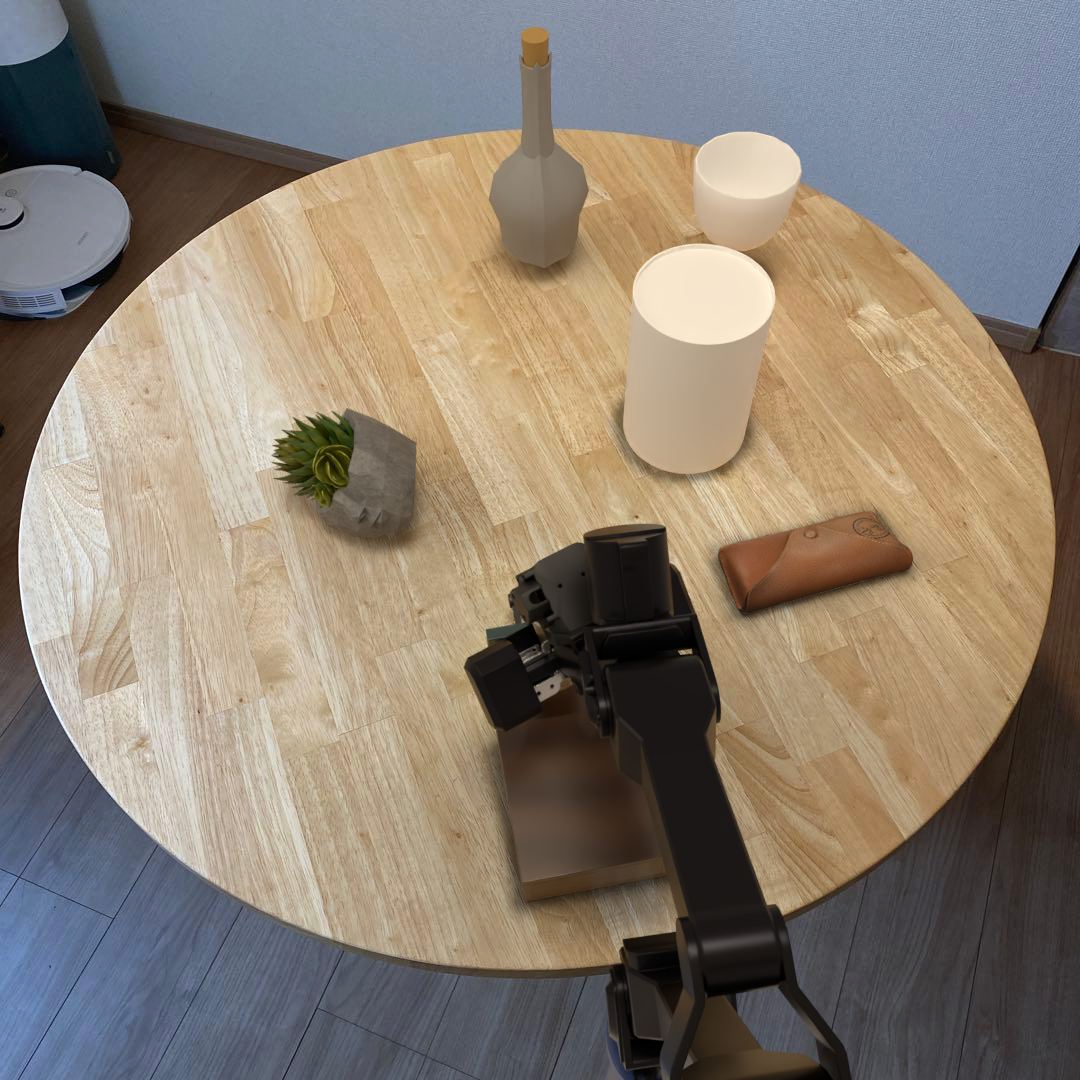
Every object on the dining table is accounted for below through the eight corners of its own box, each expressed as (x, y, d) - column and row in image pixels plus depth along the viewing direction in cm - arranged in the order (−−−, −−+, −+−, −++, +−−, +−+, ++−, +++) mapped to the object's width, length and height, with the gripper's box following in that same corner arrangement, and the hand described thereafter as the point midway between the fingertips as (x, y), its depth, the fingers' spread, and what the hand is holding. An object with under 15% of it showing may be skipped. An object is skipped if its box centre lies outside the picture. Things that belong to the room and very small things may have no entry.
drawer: (482, 613, 103) (479, 591, 100) (595, 594, 104) (596, 572, 101) (509, 772, 94) (507, 754, 91) (632, 749, 95) (635, 731, 92)
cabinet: (499, 753, 96) (495, 727, 91) (633, 729, 97) (636, 702, 92) (524, 902, 89) (521, 883, 84) (668, 874, 90) (674, 854, 85)
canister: (767, 413, 117) (800, 279, 101) (704, 494, 112) (728, 366, 95) (665, 362, 122) (680, 225, 105) (599, 436, 116) (605, 304, 99)
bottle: (506, 226, 135) (493, -1, 110) (592, 236, 134) (599, 9, 109) (486, 287, 129) (467, 62, 104) (576, 298, 128) (579, 73, 103)
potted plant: (402, 560, 104) (249, 528, 101) (404, 523, 116) (268, 494, 114) (428, 443, 101) (271, 408, 98) (428, 418, 113) (288, 386, 110)
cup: (673, 307, 127) (687, 191, 112) (687, 242, 133) (702, 124, 118) (770, 321, 125) (797, 206, 111) (780, 255, 131) (806, 137, 117)
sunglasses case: (872, 504, 110) (902, 499, 103) (890, 569, 110) (921, 568, 103) (711, 548, 107) (731, 545, 101) (729, 615, 107) (751, 616, 100)
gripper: (690, 509, 76) (605, 494, 91) (464, 624, 72) (413, 588, 86) (740, 642, 79) (649, 606, 94) (525, 762, 74) (465, 704, 89)
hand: (547, 623), depth 90 cm, fingers closed on sprinkles bottle, 4 cm apart
